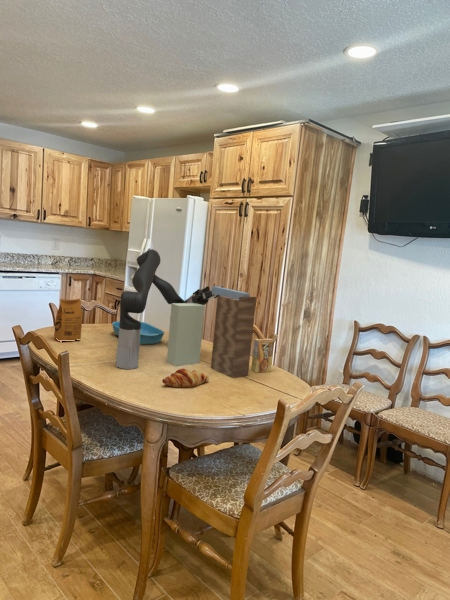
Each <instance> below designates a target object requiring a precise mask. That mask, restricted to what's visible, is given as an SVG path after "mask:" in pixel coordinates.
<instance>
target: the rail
mask: <svg viewBox="0 0 450 600" xmlns="http://www.w3.org/2000/svg"><path fill="white" fill-rule="evenodd" d="M211 290H212V294H217V295H220V296H226V297H230V298H234V299H238V300H239V297H250V293H249V292H244V291H239V290H235V289H232V288H226V287H224V288H222V287H221V286H213V285H212V287H211Z"/></svg>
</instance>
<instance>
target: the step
mask: <svg viewBox="0 0 450 600" xmlns="http://www.w3.org/2000/svg"><path fill="white" fill-rule="evenodd" d="M170 306H171V307H170V317H169V329H168V330H169V331H168V343H167V353H166V363H167V364H170V365H171V366H173V367H178V366H186V365H187V366H188V365H195V364H200V360H201V359H200V358H201V349H202V348H201V347H202V339H203V328H204V327H203V325H204V315H205V305H201V304H197V303H171V304H170Z"/></svg>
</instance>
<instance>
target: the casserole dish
mask: <svg viewBox="0 0 450 600" xmlns="http://www.w3.org/2000/svg"><path fill="white" fill-rule="evenodd" d="M140 322H141V332H140V344H145V345H155V344H159V343H160V342H161V340H162V339H163V337H164V335H165V331H164V330H162V329H160V328H158V327H156V326H155V325H152V324H150V323H148V322H145V321H140ZM111 324H112V325H111V326H112V329H113V330H112V331H113V332H114V334H115V335H117V337H119V325H120V320H119V321H113V322H112V323H111Z"/></svg>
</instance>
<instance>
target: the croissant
mask: <svg viewBox="0 0 450 600" xmlns="http://www.w3.org/2000/svg"><path fill="white" fill-rule="evenodd" d="M209 380H210V376H209V375H207V374H205V373H201V372H199V371H198V370H190V369H189V368H179V369H177V370H175V372H173V373H171V374H170V375H169V376H168V375H167V376H166V377H165V378H163V379H162V380H161V381H162V383H163V384H164V385H166V386H170V387H173V388H182V389H183V388H194V387H196V386H198V385H199V386H200V385H202V384H204V383H207V382H208V381H209Z"/></svg>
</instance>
